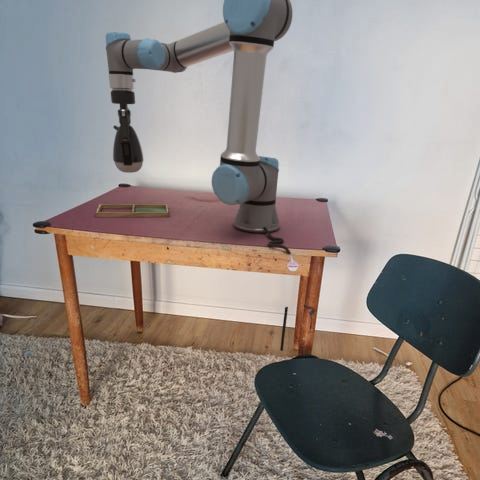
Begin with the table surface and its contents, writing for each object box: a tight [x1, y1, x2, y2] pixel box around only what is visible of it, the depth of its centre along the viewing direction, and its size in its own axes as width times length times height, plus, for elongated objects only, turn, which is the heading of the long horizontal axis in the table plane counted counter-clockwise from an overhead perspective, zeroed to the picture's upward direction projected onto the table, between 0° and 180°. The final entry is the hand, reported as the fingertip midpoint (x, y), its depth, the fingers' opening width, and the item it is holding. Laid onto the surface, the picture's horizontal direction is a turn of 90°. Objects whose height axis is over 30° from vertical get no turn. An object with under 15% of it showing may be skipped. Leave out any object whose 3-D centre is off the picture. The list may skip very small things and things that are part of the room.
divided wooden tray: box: [95, 203, 170, 218], centre depth 153 cm, size 13×25×2 cm, turn 100°
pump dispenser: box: [112, 124, 145, 174], centre depth 143 cm, size 10×10×15 cm
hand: (128, 163), depth 145 cm, fingers closed on pump dispenser, 10 cm apart
